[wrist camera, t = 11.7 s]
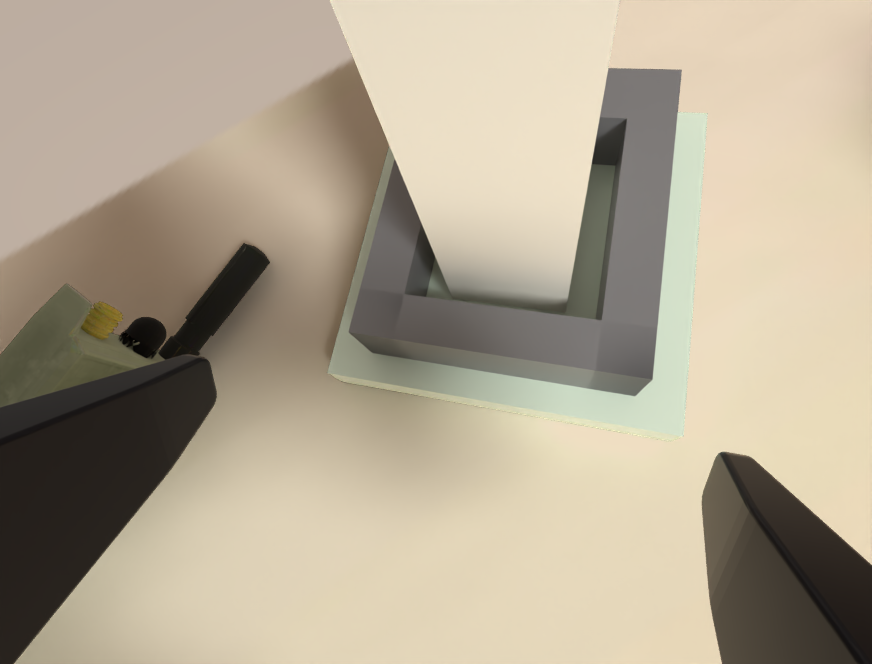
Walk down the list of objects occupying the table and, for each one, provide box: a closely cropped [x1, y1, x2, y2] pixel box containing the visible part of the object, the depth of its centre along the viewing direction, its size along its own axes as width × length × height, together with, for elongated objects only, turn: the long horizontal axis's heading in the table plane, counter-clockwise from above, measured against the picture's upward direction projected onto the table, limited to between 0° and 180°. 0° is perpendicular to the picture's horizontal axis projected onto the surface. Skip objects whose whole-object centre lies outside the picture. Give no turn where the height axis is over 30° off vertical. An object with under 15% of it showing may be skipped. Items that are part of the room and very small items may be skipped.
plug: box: [330, 0, 620, 312], centre depth 12 cm, size 6×4×13 cm, turn 169°
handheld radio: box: [0, 243, 270, 407], centre depth 17 cm, size 7×3×25 cm
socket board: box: [327, 68, 708, 441], centre depth 18 cm, size 12×12×4 cm
